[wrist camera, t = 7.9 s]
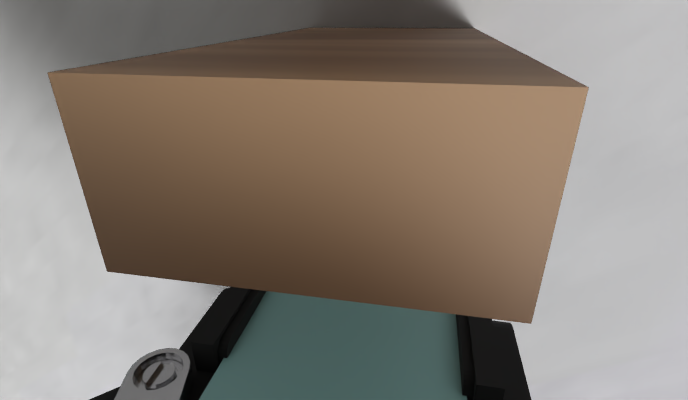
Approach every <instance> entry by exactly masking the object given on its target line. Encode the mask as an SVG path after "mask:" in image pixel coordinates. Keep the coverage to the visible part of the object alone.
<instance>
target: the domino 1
mask: <svg viewBox="0 0 688 400" xmlns="http://www.w3.org/2000/svg"><path fill="white" fill-rule="evenodd" d="M48 76H49V79H50V83H51V86H52V89H53V93H54V96H55V99H56V103H57V106H58V109H59V113H60V116H61V119H62V123H63V126H64V129H65V133H66V136H67V139H68V143H69V146H70V149H71V153H72V156H73V159H74V163H75V166H76V169H77V173H78V176H79V179H80V183H81V186H82V189H83V193H84V196H85V199H86V203H87V206H88V209H89V213H90V216H91V219H92V223H93V226H94V229H95V233H96V236H97V239H98V243H99V246H100V249H101V253H102V256H103V259H104V263H105V266H106V269H107V271H108V272H116V273H124V274H132V275H140V276H148V277H156V278H165V279H173V280H181V281H189V282H197V283H205V284H213V285H221V286H230V287H238V288H246V289H254V290H262V291H270V292H278V293H286V294H295V295H303V296H311V297H319V298H327V299H335V300H343V301H351V302H360V303H368V304H376V305H384V306H392V307H400V308H408V309H417V310H425V311H433V312H441V313H449V314H457V315H465V316H473V317H482V318H490V319H498V320H506V321H514V322H522V323H530V324H531V322H532V318H533V314H534V310H535V306H536V302H537V297H538V293H539V289H540V285H541V281H542V277H543V273H544V269H545V265H546V261H547V256H548V252H549V248H550V244H551V240H552V236H553V232H554V228H555V224H556V219H557V215H558V211H559V207H560V203H561V199H562V195H563V191H564V187H565V183H566V178H567V174H568V170H569V166H570V162H571V158H572V154H573V150H574V146H575V142H576V137H577V133H578V129H579V125H580V121H581V117H582V113H583V109H584V105H585V100H586V96H587V92H588V88H589V87H587V86H585V85H583V84H581V83H579V82H577V81H575V80H573V79H571V78H570V77H568V76H566V75H564V74H562V73H560V72H558V71H556V70H554V69H552V68H550V67H548V66H546V65H544V64H542V63H541V62H539V61H537V60H535V59H533V58H531V57H529V56H527V55H525V54H523V53H521V52H519V51H517V50H515V49H513V48H512V47H510V46H508V45H506V44H504V43H502V42H500V41H498V40H496V39H494V38H492V37H490V36H488V35H486V34H484V33H482V32H481V31H479V30H477V29H475V28H305V29H300V30H294V31H288V32H282V33H276V34H270V35H264V36H259V37H253V38H247V39H241V40H235V41H229V42H223V43H218V44H212V45H206V46H200V47H194V48H188V49H182V50H177V51H171V52H165V53H159V54H153V55H147V56H141V57H136V58H130V59H124V60H118V61H112V62H106V63H100V64H95V65H89V66H83V67H77V68H71V69H65V70H60V71H54V72H48Z"/></svg>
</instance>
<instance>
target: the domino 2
mask: <svg viewBox="0 0 688 400" xmlns="http://www.w3.org/2000/svg"><path fill="white" fill-rule="evenodd" d="M199 400H467V396H464V395H462V387H461V374H460V362H459V349H458V336H457V324H456V314H449V313H441V312H433V311H425V310H417V309H408V308H400V307H392V306H384V305H376V304H368V303H360V302H351V301H343V300H335V299H327V298H319V297H311V296H303V295H295V294H286V293H278V292H270V291H266V293H265V295H264V297H263V298H262V300H261V302H260V303H259V305H258V307H257V308H256V310H255V312H254V314H253V315H252V317H251V319H250V320H249V322H248V324H247V326H246V327H245V329H244V331H243V332H242V334H241V336H240V337H239V339H238V341H237V343H236V344H235V346H234V348H233V349H232V351H231V353H230V355H229V356H228V358H223V360H222V362H221V363H220V365H219V367H218V369H217V370H216V372H215V374H214V375H213V377H212V379H211V380H210V382H209V384H208V385H207V387H206V389H205V390H204V392H203V394H202V395H201V397H200V399H199Z"/></svg>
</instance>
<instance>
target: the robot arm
mask: <svg viewBox="0 0 688 400" xmlns="http://www.w3.org/2000/svg"><path fill="white" fill-rule="evenodd" d="M265 293H266V291H262V290H254V289H246V288H238V287H230V288H227V289H224V290H223V291H222V292H221V293H220V295H219V296H218V297H217V299H216V300H215V302H214V303H213V304H212V306H211V307H210V308H209V310H208V311H207V312H206V314H205V315H204V316H203V318H202V319H201V320H200V322H199V323H198V324H197V326H196V327H195V328H194V330H193V331H192V333H191V334H190V335H189V337H188V338H187V339H186V341H185V342H184V343H183V345H182V346H181V347H180V349H176V348H165V349H159V350H156V351H153V352H151V353H148V354H146V355H145V356H143V357H141V358H140V359H139V360H137V361H136V362H135V363H134V364H133V365H132V366H131V368H130V369H129V371H128V372H127V374H126V376H125V378H124V380H123V382H122V384H121V386H120V387H118V388H115V389H113V390H111V391H108V392H106V393H104V394H101V395H99V396H97V397H94V398H92V399H90V400H199V399H200V397H201V395H202V394H203V392H204V390H205V389H206V387H207V385H208V384H209V382H210V380H211V379H212V377H213V375H214V374H215V372H216V370H217V369H218V367H219V365H220V363H221V362H222V360H223V358H228V356H229V355H230V353H231V351H232V349H233V348H234V346H235V344H236V343H237V341H238V339H239V337H240V336H241V334H242V332H243V331H244V329H245V327H246V326H247V324H248V322H249V320H250V319H251V317H252V315H253V314H254V312H255V310H256V308H257V307H258V305H259V303H260V302H261V300H262V298H263V297H264V295H265ZM456 324H457V336H458V349H459V362H460V374H461V387H462V395H464V396H467V400H531V397H530V393H529V389H528V385H527V381H526V377H525V373H524V369H523V365H522V361H521V358H520V354H519V350H518V346H517V342H516V338H515V334H514V330H513V327H512V324H511V323H507V322H499V321H492V319H490V318H482V317H473V316H465V315H457V314H456Z"/></svg>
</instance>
